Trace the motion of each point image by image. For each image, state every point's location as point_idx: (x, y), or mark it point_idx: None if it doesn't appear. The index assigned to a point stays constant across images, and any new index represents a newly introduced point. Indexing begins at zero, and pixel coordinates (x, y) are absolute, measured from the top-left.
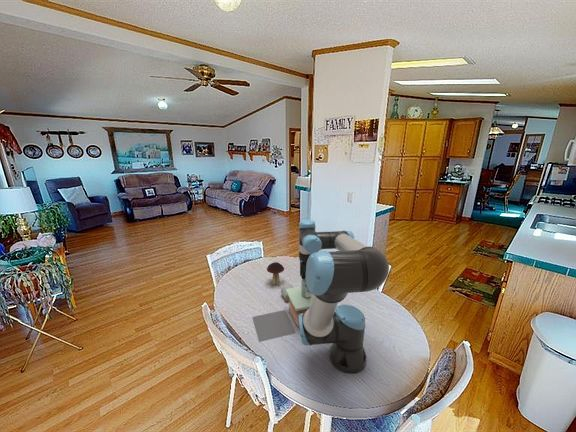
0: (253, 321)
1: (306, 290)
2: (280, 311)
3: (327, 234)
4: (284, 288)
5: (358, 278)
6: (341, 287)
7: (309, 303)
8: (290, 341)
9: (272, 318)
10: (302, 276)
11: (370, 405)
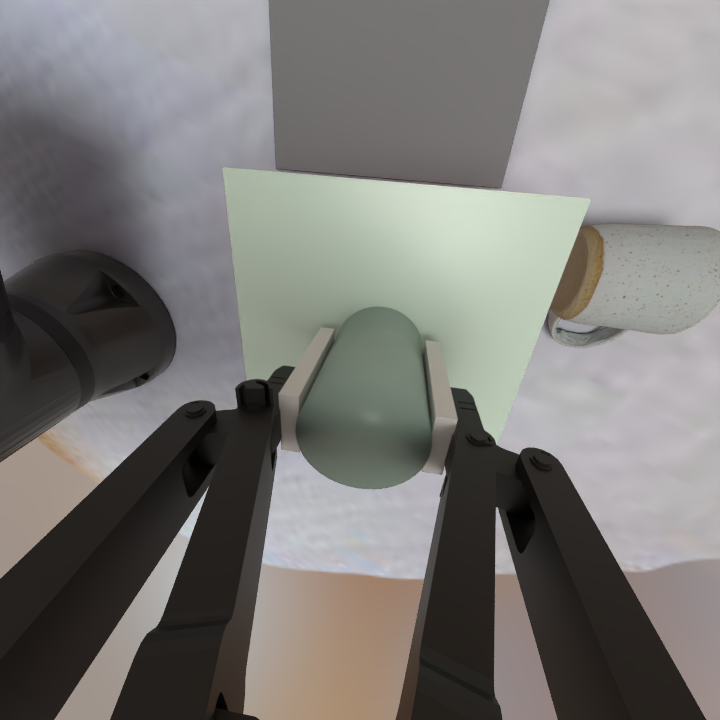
0: None
1: (300, 363)
2: (505, 143)
3: None
4: (688, 253)
5: None
6: None
7: (269, 318)
8: (229, 103)
9: (467, 39)
10: (452, 461)
11: None
